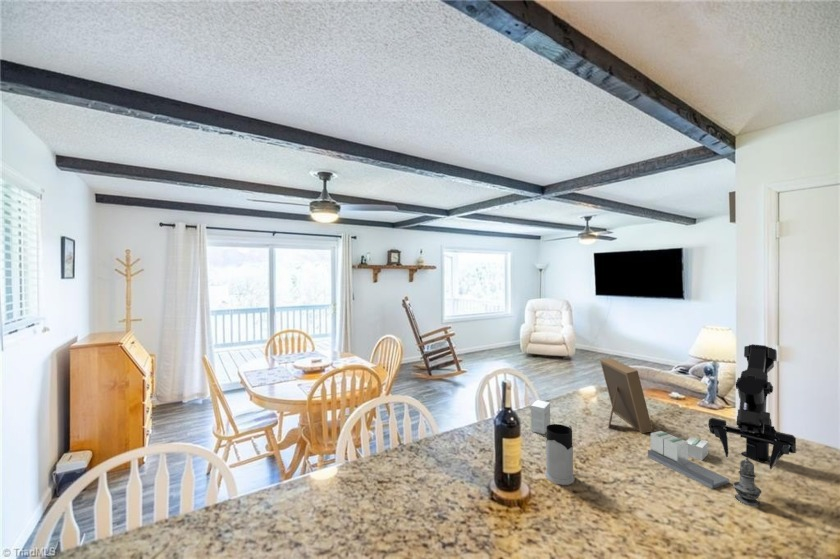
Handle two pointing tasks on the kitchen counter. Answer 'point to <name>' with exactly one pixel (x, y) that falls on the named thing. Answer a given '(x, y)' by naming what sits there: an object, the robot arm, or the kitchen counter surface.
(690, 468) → the rail
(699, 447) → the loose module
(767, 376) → the robot arm
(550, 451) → the glass holder
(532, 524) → the kitchen counter surface
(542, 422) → the small box
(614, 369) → the photo frame
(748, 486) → the dark grey tall piece
